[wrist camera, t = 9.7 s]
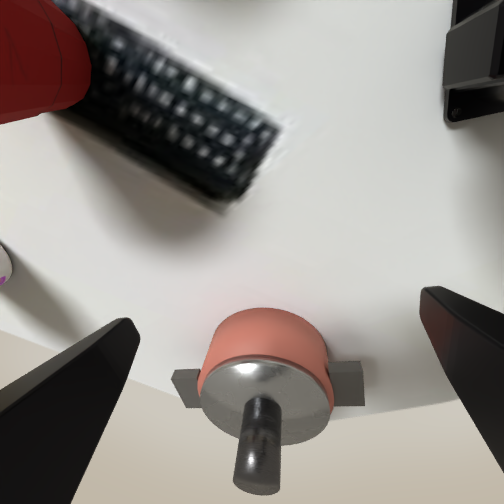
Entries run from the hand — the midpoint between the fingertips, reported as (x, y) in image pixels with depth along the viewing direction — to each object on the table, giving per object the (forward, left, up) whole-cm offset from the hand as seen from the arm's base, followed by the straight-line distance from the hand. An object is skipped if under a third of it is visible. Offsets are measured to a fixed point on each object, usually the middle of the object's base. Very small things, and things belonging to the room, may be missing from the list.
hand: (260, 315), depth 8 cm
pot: (+4, +16, -13) cm, 21 cm away
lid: (+4, +16, -8) cm, 18 cm away
